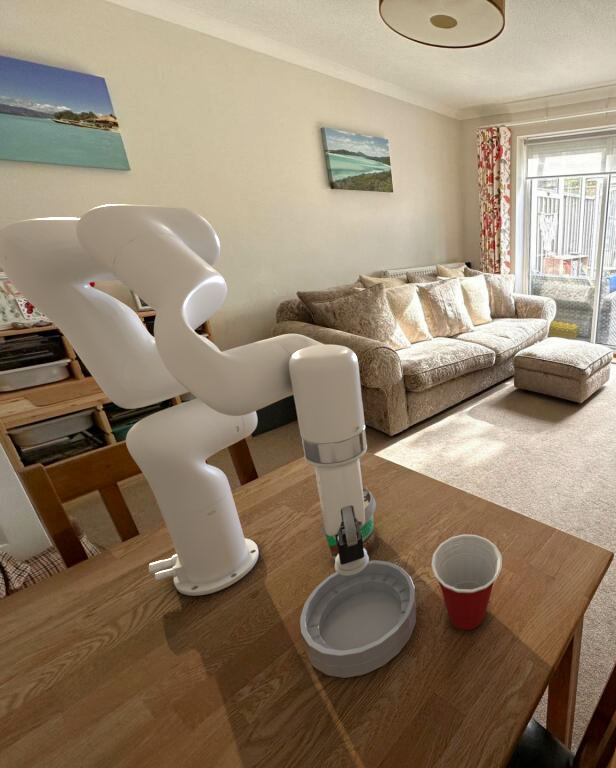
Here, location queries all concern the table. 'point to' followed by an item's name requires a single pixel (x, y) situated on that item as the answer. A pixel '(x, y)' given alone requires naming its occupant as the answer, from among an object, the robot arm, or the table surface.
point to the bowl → (359, 619)
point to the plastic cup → (466, 577)
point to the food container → (365, 530)
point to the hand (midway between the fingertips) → (350, 550)
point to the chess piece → (351, 564)
